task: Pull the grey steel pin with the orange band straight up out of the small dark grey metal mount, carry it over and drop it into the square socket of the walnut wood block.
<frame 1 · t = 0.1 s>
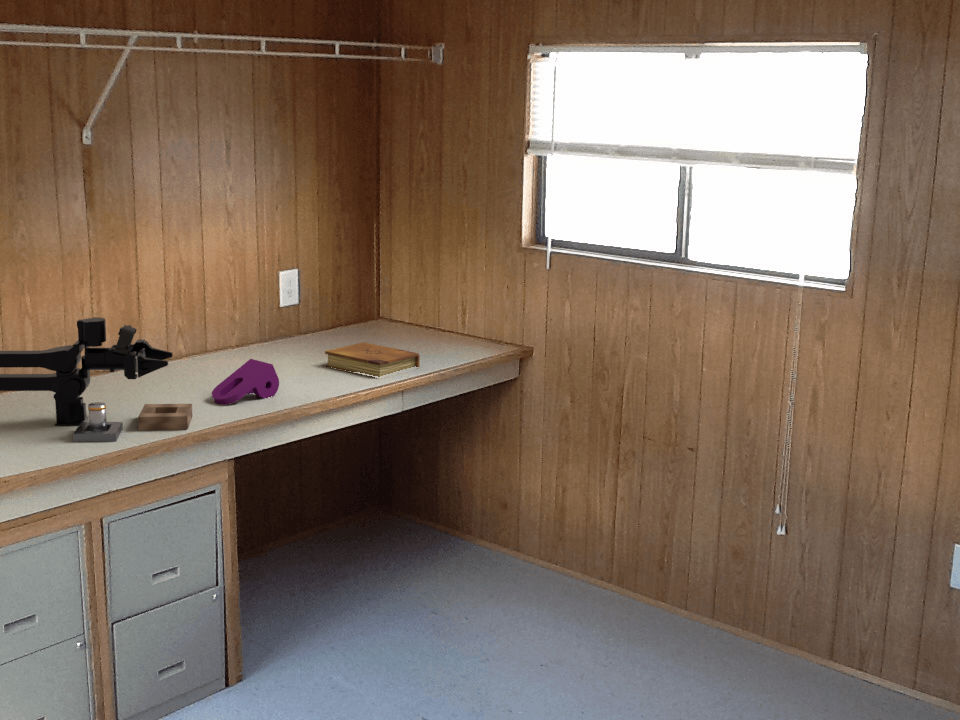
hand: (170, 358, 290), 17 cm above the table, tool horizontal, fingers open, 9 cm apart
diary: (372, 369, 357), on the table
pin mount: (98, 435, 280), on the table
mounting bracket: (242, 399, 318), on the table
steel pin: (97, 420, 279), in the pin mount
socket block: (166, 423, 292), on the table
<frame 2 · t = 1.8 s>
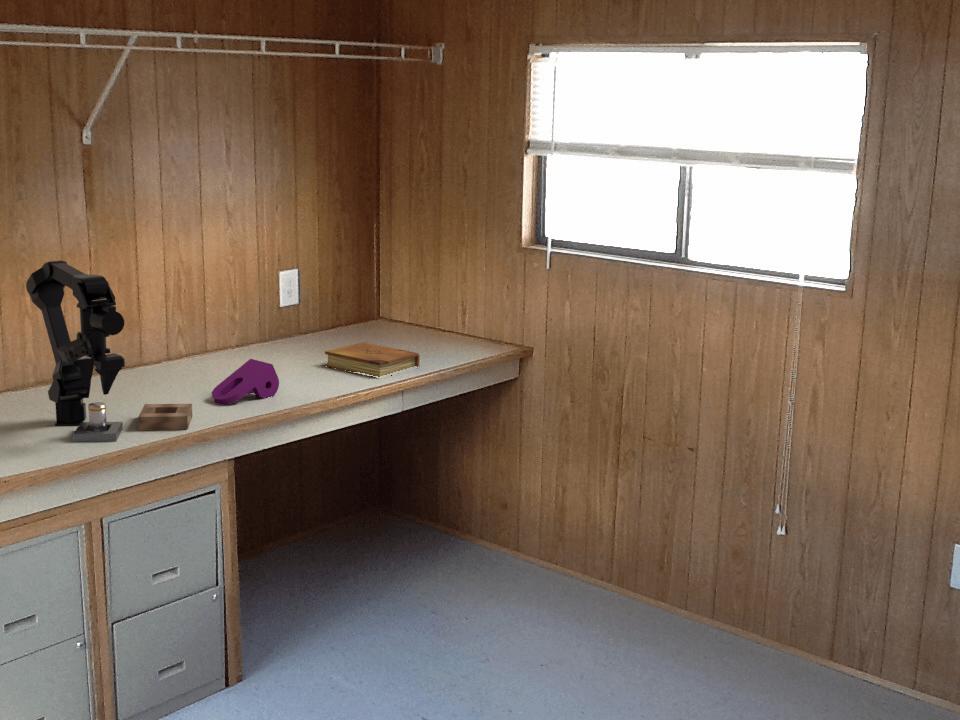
hand: (96, 390, 278), 11 cm above the table, tool pointing down, fingers open, 9 cm apart
nothing on the table moved.
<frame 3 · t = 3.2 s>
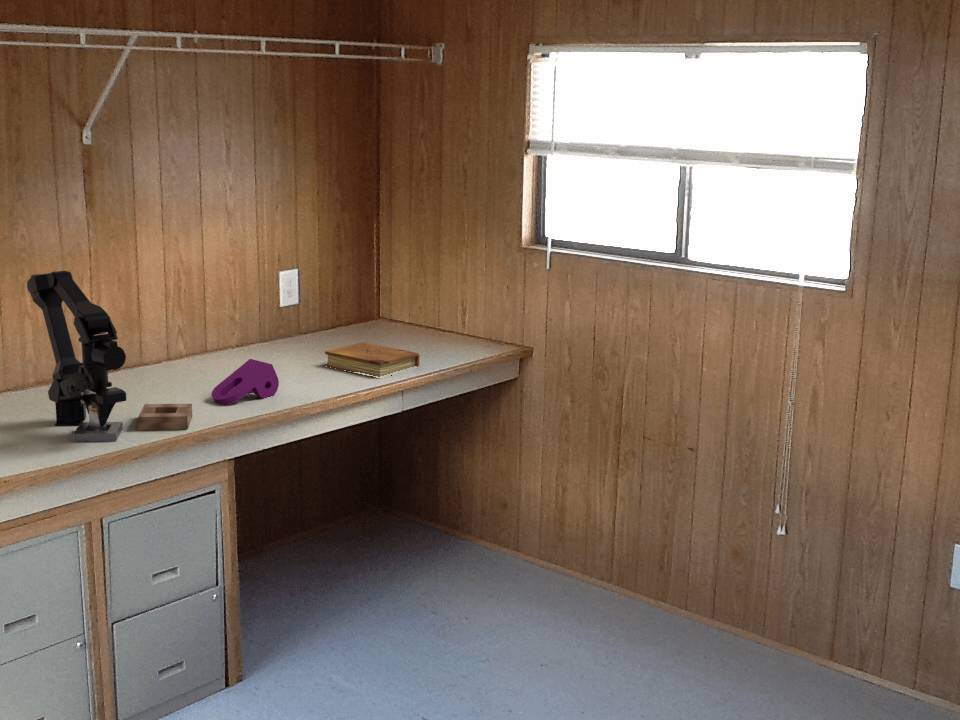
hand: (98, 423, 280), 3 cm above the table, tool pointing down, fingers closed on steel pin, 4 cm apart
steel pin: (97, 420, 279), in the pin mount, touching gripper
everything else where it was.
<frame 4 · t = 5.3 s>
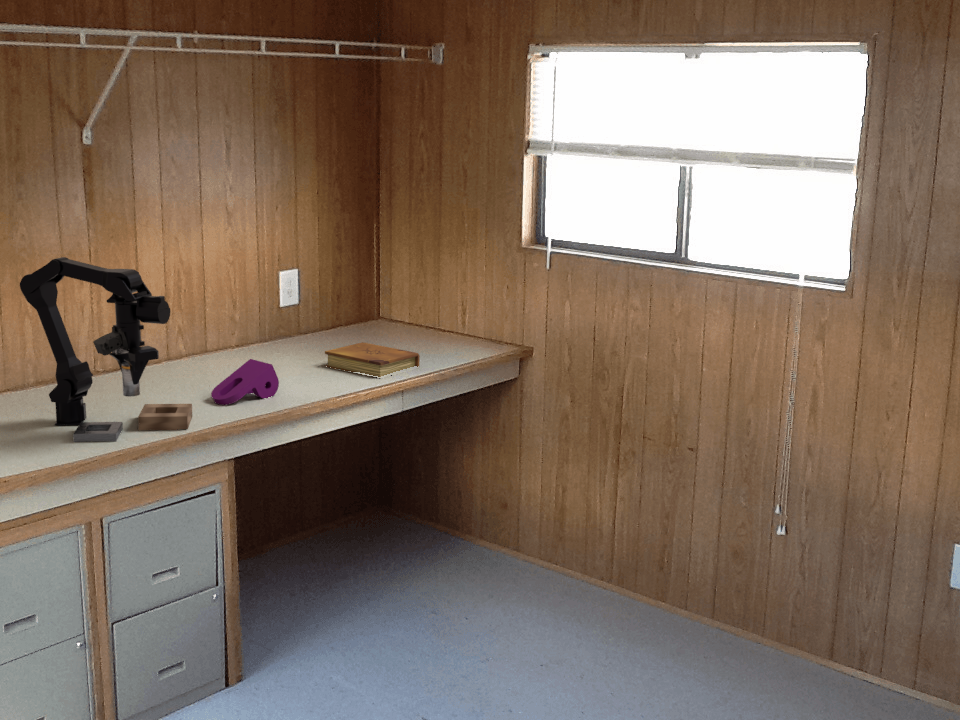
hand: (131, 382, 283), 12 cm above the table, tool pointing down, fingers closed on steel pin, 4 cm apart
steel pin: (130, 378, 283), point 13 cm above the table, touching gripper
everything else where it was.
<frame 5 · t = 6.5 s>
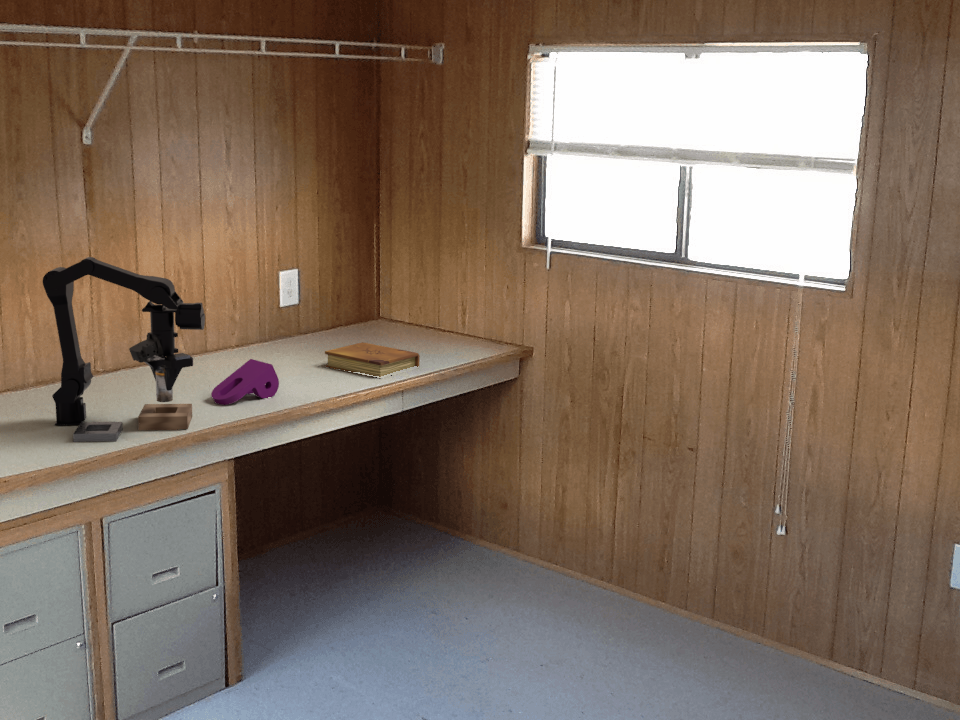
hand: (164, 388, 290), 9 cm above the table, tool pointing down, fingers closed on steel pin, 4 cm apart
steel pin: (164, 385, 290), point 10 cm above the table, touching gripper
everything else where it was.
when the fingers open (4 cm above the table, at t = 7.6 s): steel pin drops 1 cm, resting in socket block.
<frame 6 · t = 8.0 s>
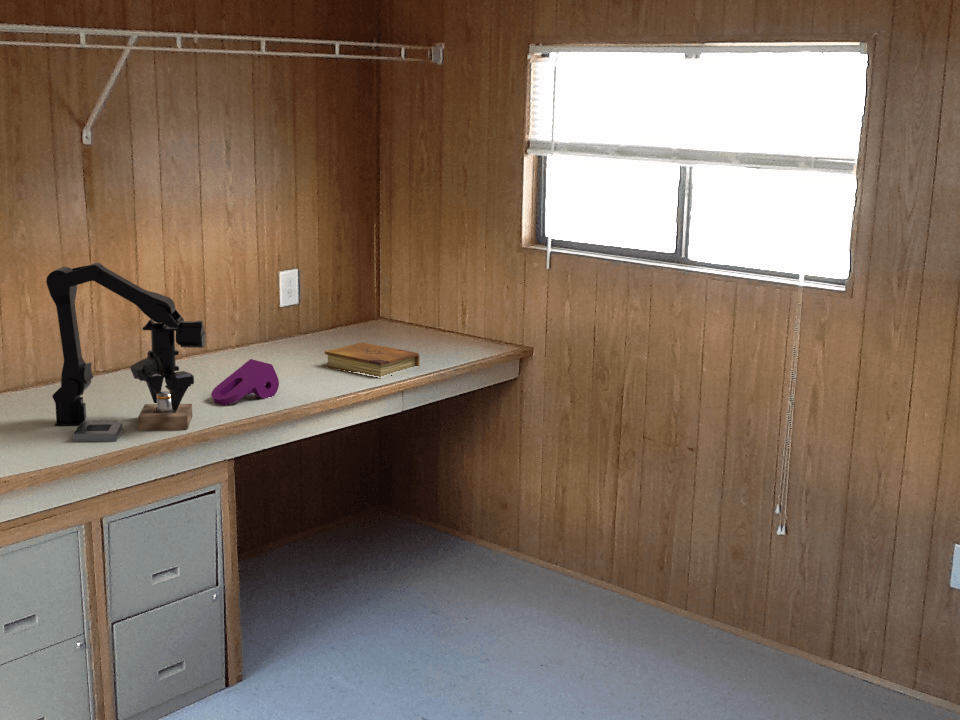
hand: (165, 406, 291), 4 cm above the table, tool pointing down, fingers open, 9 cm apart
steel pin: (165, 408, 291), in the socket block
everything else where it was.
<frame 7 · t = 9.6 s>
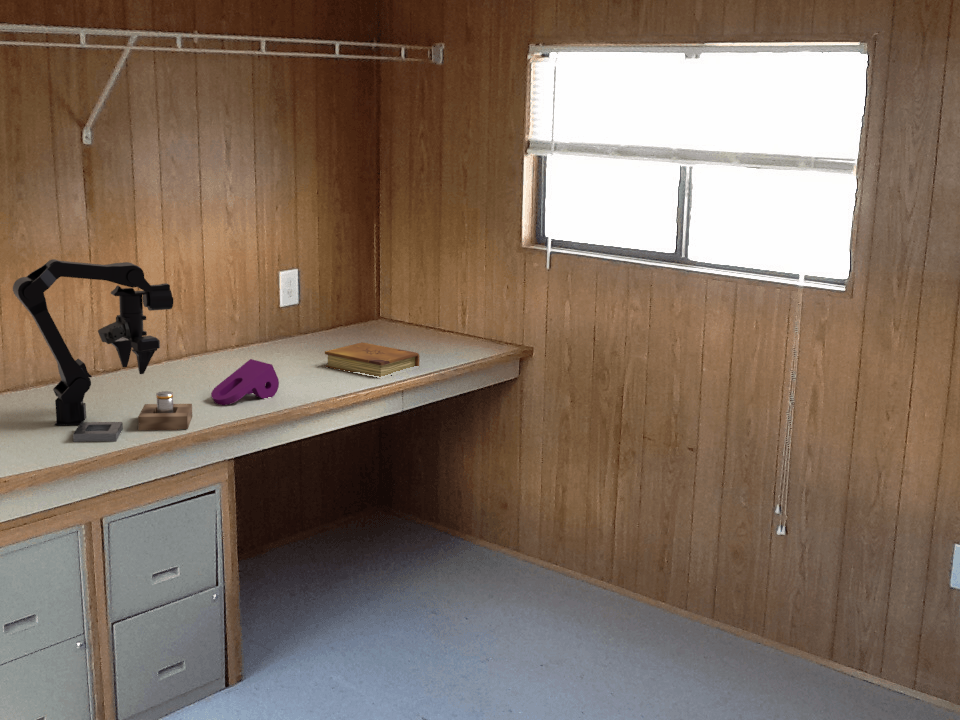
hand: (133, 370, 297), 12 cm above the table, tool pointing down, fingers open, 9 cm apart
nothing on the table moved.
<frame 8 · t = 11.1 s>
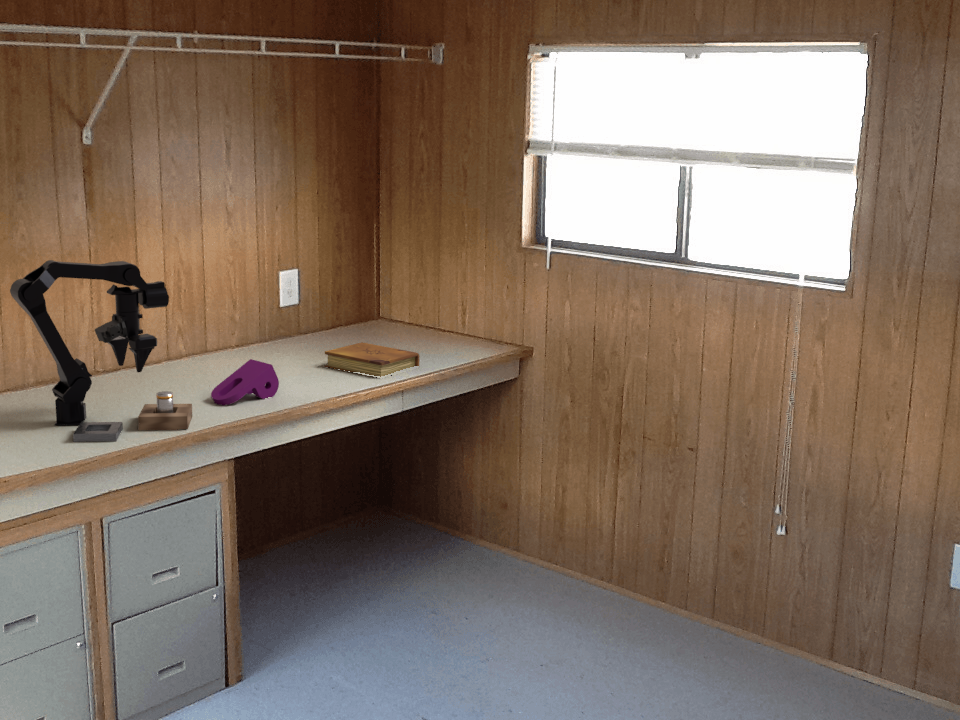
hand: (130, 368, 297), 12 cm above the table, tool pointing down, fingers open, 9 cm apart
nothing on the table moved.
at the end: steel pin 0.1 cm off-centre on the socket block, point 4.0 cm above the socket block's base; steel pin tilted 0°; the gripper is holding nothing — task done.
